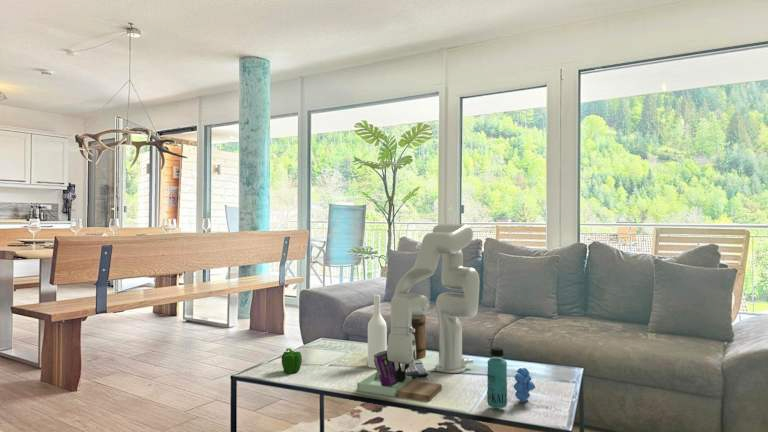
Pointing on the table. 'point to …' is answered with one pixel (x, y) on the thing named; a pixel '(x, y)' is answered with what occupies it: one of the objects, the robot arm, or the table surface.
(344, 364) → the table surface
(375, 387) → the tray
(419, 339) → the wooden container
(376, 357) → the beverage can
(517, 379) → the grapes
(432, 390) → the board
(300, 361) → the bell pepper
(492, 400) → the beverage bottle
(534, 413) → the table surface
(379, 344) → the bottle
